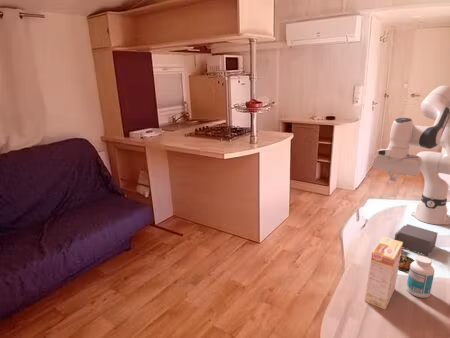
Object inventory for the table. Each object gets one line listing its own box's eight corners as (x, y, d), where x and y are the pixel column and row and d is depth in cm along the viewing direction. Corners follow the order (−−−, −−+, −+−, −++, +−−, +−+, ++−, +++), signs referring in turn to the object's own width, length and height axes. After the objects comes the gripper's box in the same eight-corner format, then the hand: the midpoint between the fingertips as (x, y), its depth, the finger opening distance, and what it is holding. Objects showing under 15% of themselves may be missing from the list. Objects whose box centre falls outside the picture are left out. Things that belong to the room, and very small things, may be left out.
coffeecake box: (374, 281, 120) (382, 235, 115) (395, 289, 115) (404, 241, 110) (363, 301, 108) (371, 251, 103) (385, 310, 104) (394, 258, 99)
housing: (404, 236, 157) (407, 224, 155) (434, 246, 148) (437, 232, 146) (396, 245, 148) (398, 232, 146) (427, 256, 139) (430, 241, 137)
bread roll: (422, 275, 124) (422, 263, 123) (391, 272, 128) (391, 261, 128) (417, 262, 134) (417, 251, 133) (388, 260, 138) (388, 249, 138)
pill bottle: (422, 286, 117) (429, 254, 114) (433, 299, 110) (441, 265, 107) (402, 285, 118) (408, 253, 114) (411, 297, 111) (418, 264, 107)
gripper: (424, 155, 142) (419, 184, 145) (377, 148, 156) (374, 175, 159) (420, 157, 137) (415, 187, 141) (373, 150, 151) (369, 177, 155)
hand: (393, 180), depth 150 cm, fingers closed
